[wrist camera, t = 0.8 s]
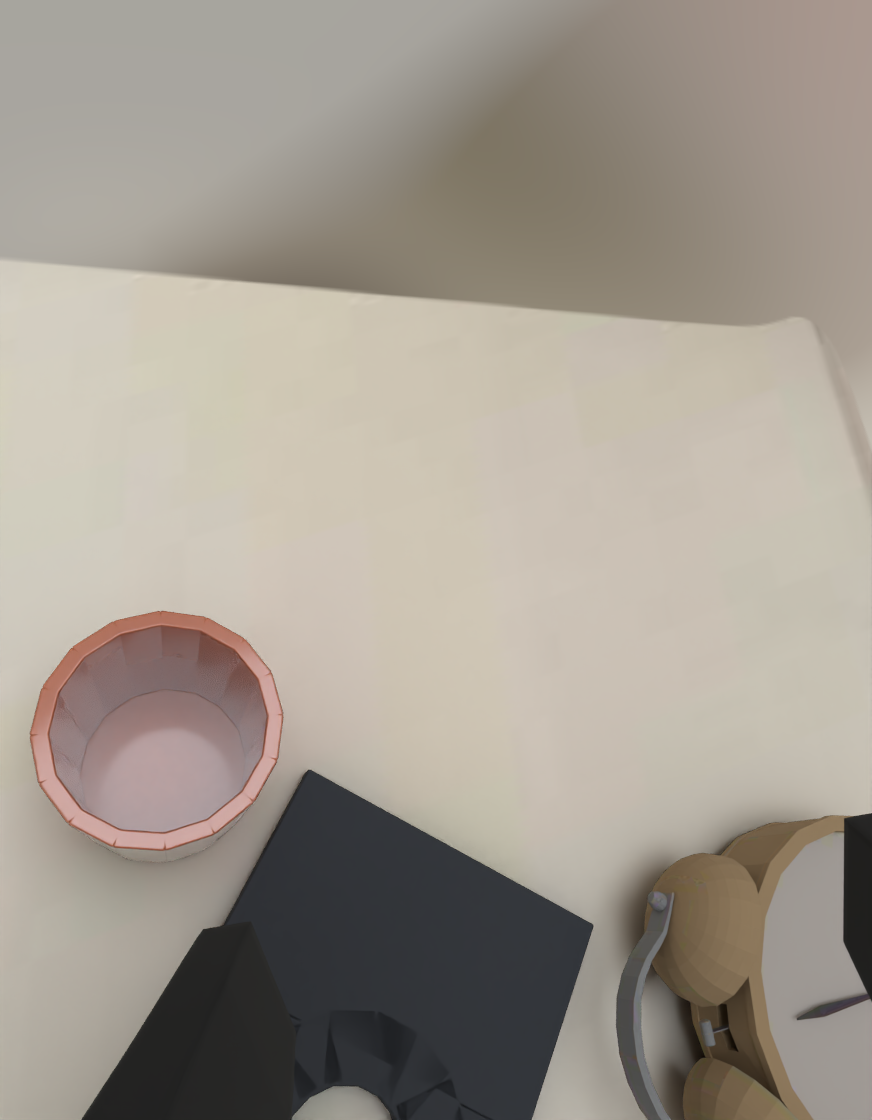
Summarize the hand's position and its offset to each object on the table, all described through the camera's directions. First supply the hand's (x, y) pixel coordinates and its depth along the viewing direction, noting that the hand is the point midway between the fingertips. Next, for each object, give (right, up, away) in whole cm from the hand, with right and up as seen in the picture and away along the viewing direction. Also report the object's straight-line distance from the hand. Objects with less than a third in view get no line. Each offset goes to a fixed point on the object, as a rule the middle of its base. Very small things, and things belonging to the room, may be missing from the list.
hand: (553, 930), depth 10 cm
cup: (-10, -2, +16) cm, 19 cm away
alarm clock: (+11, -11, +19) cm, 24 cm away
